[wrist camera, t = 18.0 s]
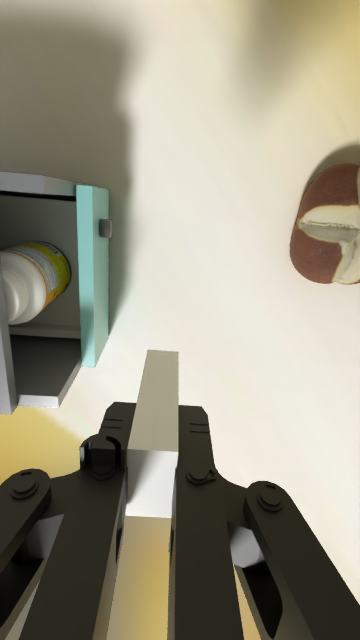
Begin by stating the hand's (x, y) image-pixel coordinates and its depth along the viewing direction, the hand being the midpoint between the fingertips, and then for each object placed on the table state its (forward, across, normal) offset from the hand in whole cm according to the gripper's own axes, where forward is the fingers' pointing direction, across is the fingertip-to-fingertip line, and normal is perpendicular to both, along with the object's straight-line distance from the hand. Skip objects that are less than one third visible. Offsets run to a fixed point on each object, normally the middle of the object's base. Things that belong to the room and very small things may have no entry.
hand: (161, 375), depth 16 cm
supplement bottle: (+17, -12, +1) cm, 21 cm away
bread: (+20, +17, +7) cm, 27 cm away
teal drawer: (+19, -13, +1) cm, 23 cm away
